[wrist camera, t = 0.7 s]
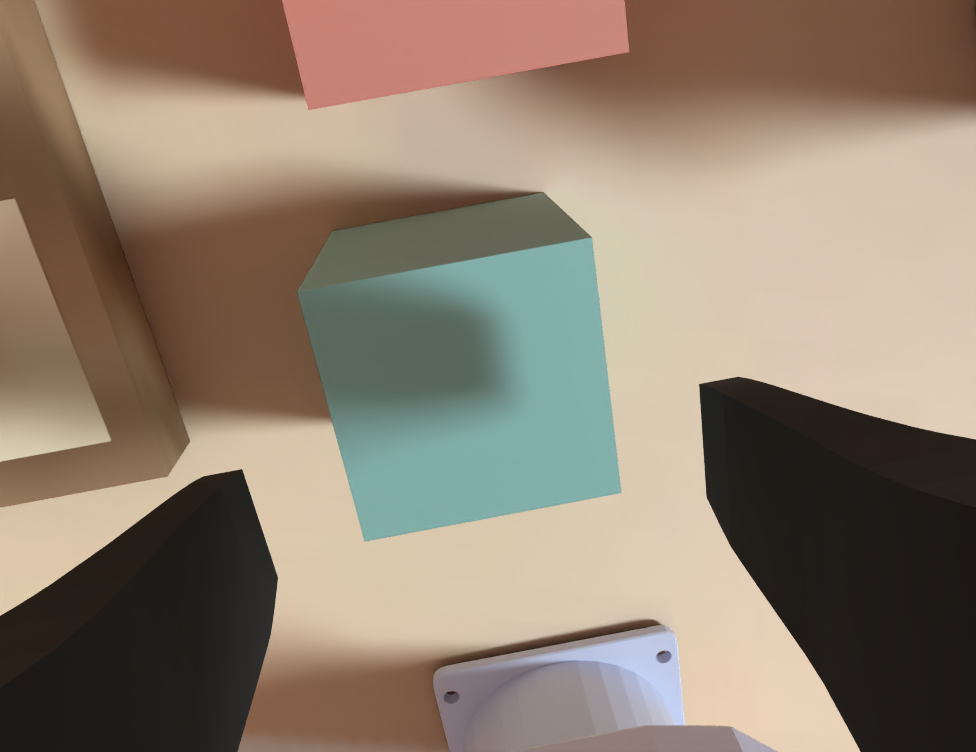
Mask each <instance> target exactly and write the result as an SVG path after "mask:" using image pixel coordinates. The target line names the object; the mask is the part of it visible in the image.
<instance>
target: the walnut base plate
mask: <svg viewBox="0 0 976 752" xmlns="http://www.w3.org/2000/svg"><path fill="white" fill-rule="evenodd" d="M189 442H190V440H189V437H188V434H187V431H186V429H185V426H184V423H183V420H182V417H181V414H180V412H179V409H178V406H177V403H176V400H175V397H174V395H173V392H172V389H171V386H170V383H169V381H168V378H167V375H166V372H165V369H164V366H163V364H162V361H161V358H160V355H159V352H158V349H157V347H156V344H155V341H154V338H153V335H152V333H151V330H150V327H149V324H148V321H147V318H146V316H145V313H144V310H143V307H142V304H141V301H140V299H139V296H138V293H137V290H136V287H135V285H134V282H133V279H132V276H131V273H130V270H129V268H128V265H127V262H126V259H125V256H124V253H123V251H122V248H121V245H120V242H119V239H118V237H117V234H116V231H115V228H114V225H113V222H112V220H111V217H110V214H109V211H108V208H107V205H106V203H105V200H104V197H103V194H102V191H101V189H100V186H99V183H98V180H97V177H96V174H95V172H94V169H93V166H92V163H91V160H90V157H89V155H88V152H87V149H86V146H85V143H84V141H83V138H82V135H81V132H80V129H79V126H78V124H77V121H76V118H75V115H74V112H73V109H72V107H71V104H70V101H69V98H68V95H67V93H66V90H65V87H64V84H63V81H62V78H61V76H60V73H59V70H58V67H57V64H56V61H55V59H54V56H53V53H52V50H51V47H50V45H49V42H48V39H47V36H46V33H45V30H44V28H43V25H42V22H41V19H40V16H39V13H38V11H37V8H36V5H35V2H34V0H0V507H6V506H11V505H16V504H22V503H27V502H32V501H38V500H43V499H49V498H54V497H59V496H65V495H70V494H75V493H81V492H86V491H92V490H97V489H102V488H108V487H113V486H118V485H124V484H129V483H134V482H140V481H145V480H151V479H156V478H161V477H167V476H168V475H169V473H170V472H171V470H172V469H173V467H174V466H175V464H176V462H177V461H178V459H179V458H180V456H181V455H182V453H183V452H184V450H185V448H186V447H187V445H188V444H189Z"/></svg>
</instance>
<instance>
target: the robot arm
mask: <svg viewBox="0 0 976 752" xmlns="http://www.w3.org/2000/svg"><path fill="white" fill-rule="evenodd" d="M699 387H700V402H701V418H702V433H703V448H704V464H705V479H706V494H707V499H708V501H709V503H710V505H711V507H712V509H713V511H714V513H715V516H716V518H717V520H718V522H719V524H720V526H721V528H722V530H723V532H724V534H725V536H726V538H727V540H728V542H729V544H730V546H731V547H732V549H733V550H734V552H735V553H736V555H737V556H738V558H739V559H740V561H741V562H742V564H743V565H744V567H745V568H746V570H747V571H748V573H749V574H750V576H751V577H752V579H753V580H754V581H755V583H756V584H757V586H758V587H759V589H760V590H761V592H762V593H763V594H764V596H765V597H766V599H767V600H768V602H769V603H770V604H771V606H772V607H773V609H774V610H775V612H776V613H777V615H778V616H779V617H780V619H781V620H782V622H783V623H784V625H785V626H786V627H787V629H788V630H789V632H790V633H791V635H792V636H793V638H794V639H795V640H796V642H797V643H798V645H799V646H800V648H801V649H802V650H803V652H804V653H805V655H806V656H807V658H808V659H809V661H810V662H811V664H812V666H813V667H814V669H815V670H816V672H817V674H818V675H819V677H820V678H821V680H822V682H823V683H824V685H825V687H826V689H827V690H828V692H829V694H830V696H831V698H832V700H833V701H834V703H835V705H836V707H837V709H838V711H839V712H840V714H841V716H842V718H843V720H844V722H845V723H846V725H847V727H848V729H849V731H850V733H851V734H852V736H853V738H854V740H855V742H856V744H857V746H858V747H859V749H860V751H861V752H976V440H975V439H970V438H965V437H959V436H954V435H948V434H943V433H938V432H933V431H929V430H924V429H920V428H915V427H911V426H907V425H904V424H900V423H896V422H892V421H888V420H884V419H881V418H877V417H873V416H869V415H866V414H862V413H859V412H856V411H852V410H849V409H846V408H842V407H839V406H836V405H833V404H829V403H826V402H823V401H820V400H817V399H814V398H811V397H808V396H804V395H801V394H798V393H795V392H792V391H789V390H786V389H783V388H780V387H777V386H773V385H770V384H767V383H763V382H760V381H756V380H752V379H748V378H742V377H735V378H729V379H724V380H719V381H713V382H708V383H703V384H699ZM277 581H278V577H277V574H276V571H275V567H274V564H273V561H272V558H271V555H270V552H269V549H268V546H267V543H266V540H265V537H264V534H263V531H262V528H261V525H260V522H259V519H258V516H257V513H256V510H255V507H254V504H253V501H252V498H251V495H250V492H249V489H248V486H247V483H246V480H245V477H244V474H243V471H242V469H241V470H236V471H230V472H225V473H220V474H214V475H209V476H204V477H201V478H200V479H198V480H196V481H194V482H192V483H191V484H189V485H188V486H186V487H185V488H183V489H182V490H180V491H179V492H177V493H176V494H174V495H173V496H172V497H170V498H169V499H168V500H166V501H165V502H164V503H162V504H161V505H160V506H158V507H157V508H156V509H154V510H153V511H152V512H150V513H149V514H148V515H146V516H145V517H144V518H142V519H141V520H140V521H138V522H137V523H136V524H134V525H133V526H132V527H130V528H129V529H128V530H126V531H125V532H124V533H122V534H121V535H120V536H118V537H117V538H116V539H114V540H113V541H112V542H110V543H109V544H108V545H106V546H105V547H103V548H102V549H101V550H99V551H98V552H96V553H95V554H93V555H92V556H91V557H89V558H88V559H86V560H85V561H84V562H82V563H81V564H79V565H78V566H76V567H75V568H74V569H72V570H71V571H69V572H68V573H66V574H65V575H64V576H62V577H61V578H59V579H58V580H57V581H55V582H54V583H52V584H51V585H49V586H48V587H46V588H45V589H43V590H42V591H40V592H38V593H37V594H35V595H34V596H32V597H31V598H29V599H27V600H26V601H24V602H23V603H21V604H19V605H18V606H16V607H15V608H13V609H11V610H9V611H8V612H6V613H4V614H3V615H1V616H0V752H237V751H238V748H239V744H240V741H241V737H242V734H243V731H244V727H245V724H246V720H247V717H248V713H249V710H250V706H251V703H252V699H253V696H254V693H255V689H256V686H257V682H258V679H259V675H260V672H261V668H262V664H263V661H264V657H265V654H266V650H267V646H268V643H269V639H270V635H271V629H272V622H273V615H274V608H275V599H276V590H277ZM663 650H665V651H666V652H665V653H664V654H661V655H657V654H658V653H659V652H661V651H663ZM433 688H434V692H435V696H436V700H437V704H438V708H439V712H440V716H441V720H442V723H443V727H444V731H445V735H446V739H447V743H448V747H449V751H450V752H777V751H775V750H773V749H772V748H770V747H768V746H766V745H764V744H762V743H760V742H759V741H757V740H755V739H753V738H751V737H749V736H747V735H746V734H744V733H742V732H740V731H738V730H736V729H734V728H733V727H729V726H701V725H685V722H684V711H683V700H682V688H681V677H680V666H679V655H678V644H677V639H676V636H675V634H674V632H673V630H672V629H671V628H670V627H668V626H665V625H657V626H652V627H647V628H642V629H636V630H631V631H626V632H621V633H615V634H610V635H605V636H600V637H594V638H589V639H584V640H579V641H573V642H568V643H563V644H558V645H552V646H547V647H542V648H537V649H531V650H526V651H521V652H516V653H510V654H505V655H500V656H495V657H489V658H484V659H479V660H474V661H468V662H463V663H458V664H453V665H447V666H444V667H441V668H439V669H438V670H437V671H436V672H435V674H434V676H433ZM449 691H455V692H457V693H455V694H447V692H449Z"/></svg>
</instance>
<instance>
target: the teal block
mask: <svg viewBox="0 0 976 752" xmlns="http://www.w3.org/2000/svg"><path fill="white" fill-rule="evenodd" d="M297 294H298V298H299V302H300V305H301V309H302V313H303V316H304V320H305V324H306V327H307V331H308V335H309V338H310V342H311V346H312V349H313V353H314V357H315V360H316V364H317V368H318V371H319V375H320V379H321V383H322V386H323V390H324V394H325V397H326V401H327V405H328V408H329V412H330V416H331V419H332V423H333V427H334V430H335V434H336V438H337V441H338V445H339V449H340V452H341V456H342V460H343V463H344V467H345V471H346V474H347V478H348V482H349V485H350V489H351V493H352V496H353V500H354V504H355V507H356V511H357V515H358V519H359V522H360V526H361V530H362V533H363V537H364V541H370V540H375V539H381V538H386V537H391V536H397V535H402V534H407V533H412V532H418V531H423V530H428V529H433V528H439V527H444V526H449V525H455V524H460V523H465V522H470V521H476V520H481V519H486V518H492V517H497V516H502V515H507V514H513V513H518V512H523V511H529V510H534V509H539V508H544V507H550V506H555V505H560V504H566V503H571V502H576V501H581V500H587V499H592V498H597V497H603V496H608V495H613V494H618V493H621V486H620V477H619V469H618V460H617V451H616V442H615V434H614V425H613V416H612V408H611V399H610V390H609V382H608V373H607V364H606V356H605V347H604V338H603V330H602V321H601V312H600V303H599V295H598V286H597V277H596V269H595V260H594V251H593V243H592V237H591V236H590V235H589V234H588V233H587V232H586V231H584V230H583V229H582V228H581V227H580V226H579V225H578V224H577V223H576V222H575V221H574V220H573V219H572V218H571V217H569V216H568V215H567V214H566V213H565V212H564V211H563V210H562V209H561V208H560V207H559V206H558V205H557V204H556V203H554V202H553V201H552V200H551V199H550V198H549V197H548V196H547V195H546V194H545V193H544V192H542V193H537V194H531V195H526V196H520V197H515V198H509V199H504V200H498V201H493V202H487V203H482V204H476V205H471V206H465V207H460V208H455V209H449V210H444V211H438V212H433V213H427V214H422V215H416V216H411V217H405V218H400V219H394V220H389V221H383V222H378V223H372V224H367V225H362V226H356V227H351V228H345V229H340V230H334V231H332V232H331V234H330V236H329V238H328V239H327V241H326V243H325V244H324V246H323V248H322V250H321V251H320V253H319V255H318V256H317V258H316V260H315V261H314V263H313V265H312V267H311V268H310V270H309V272H308V273H307V275H306V277H305V279H304V280H303V282H302V284H301V285H300V287H299V289H298V291H297Z"/></svg>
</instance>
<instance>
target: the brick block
mask: <svg viewBox="0 0 976 752" xmlns="http://www.w3.org/2000/svg"><path fill="white" fill-rule="evenodd" d="M282 3H283V7H284V11H285V15H286V19H287V23H288V27H289V32H290V36H291V40H292V44H293V48H294V52H295V56H296V60H297V65H298V69H299V73H300V77H301V81H302V85H303V89H304V93H305V98H306V102H307V106H308V110H311V109H317V108H322V107H328V106H333V105H339V104H345V103H350V102H356V101H361V100H367V99H372V98H378V97H383V96H389V95H394V94H400V93H406V92H411V91H417V90H422V89H428V88H433V87H439V86H444V85H450V84H455V83H461V82H467V81H472V80H478V79H483V78H489V77H494V76H500V75H505V74H511V73H516V72H522V71H528V70H533V69H539V68H544V67H550V66H555V65H561V64H566V63H572V62H577V61H583V60H589V59H594V58H600V57H605V56H611V55H616V54H622V53H627V52H629V44H628V32H627V21H626V10H625V0H282Z"/></svg>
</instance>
